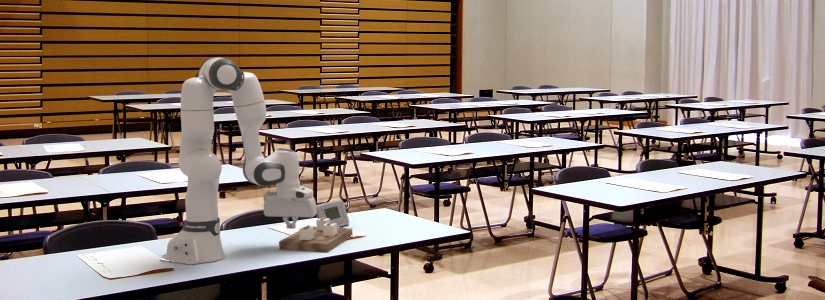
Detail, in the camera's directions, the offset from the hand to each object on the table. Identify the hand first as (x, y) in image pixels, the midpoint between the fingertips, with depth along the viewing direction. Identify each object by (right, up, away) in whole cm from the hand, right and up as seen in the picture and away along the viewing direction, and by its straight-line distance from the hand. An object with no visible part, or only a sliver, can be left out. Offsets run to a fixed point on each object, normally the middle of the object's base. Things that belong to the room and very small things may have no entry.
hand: (291, 228), depth 314 cm
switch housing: (+9, -6, +6) cm, 12 cm away
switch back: (+11, -2, +13) cm, 17 cm away
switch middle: (+14, -3, +4) cm, 15 cm away
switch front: (+6, -4, -2) cm, 7 cm away
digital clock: (+13, -3, +31) cm, 33 cm away
